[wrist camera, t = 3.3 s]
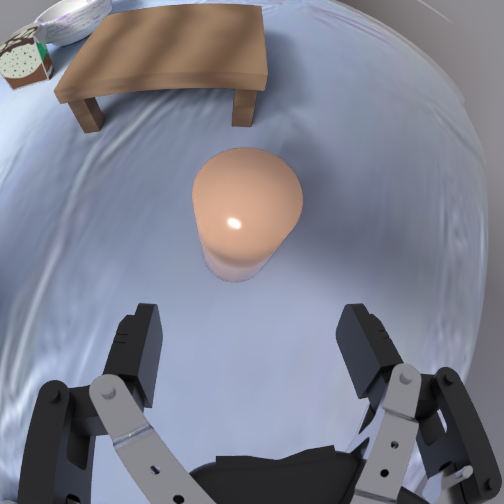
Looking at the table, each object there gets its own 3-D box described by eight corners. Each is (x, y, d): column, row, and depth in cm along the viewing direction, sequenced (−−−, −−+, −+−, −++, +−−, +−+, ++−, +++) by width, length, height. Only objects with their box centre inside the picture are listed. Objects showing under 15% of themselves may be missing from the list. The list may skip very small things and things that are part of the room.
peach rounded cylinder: (202, 281, 23) (188, 245, 12) (204, 220, 24) (196, 146, 14) (267, 282, 23) (307, 248, 13) (265, 221, 25) (298, 151, 14)
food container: (73, 55, 29) (57, 12, 19) (56, 78, 27) (35, 33, 17) (24, 69, 27) (6, 34, 18) (8, 92, 26) (-14, 56, 16)
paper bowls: (128, 10, 33) (123, -20, 26) (90, 49, 29) (79, 13, 22) (70, 21, 32) (62, -4, 24) (30, 62, 28) (17, 34, 20)
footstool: (80, 137, 25) (53, 91, 17) (117, 56, 29) (106, 15, 21) (255, 130, 27) (268, 74, 19) (253, 50, 31) (261, 6, 23)
